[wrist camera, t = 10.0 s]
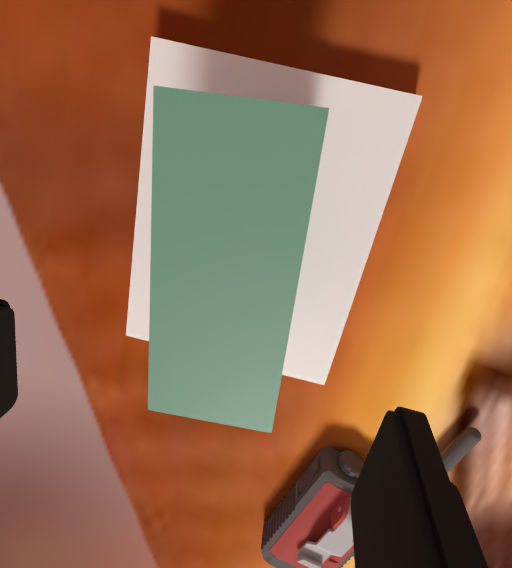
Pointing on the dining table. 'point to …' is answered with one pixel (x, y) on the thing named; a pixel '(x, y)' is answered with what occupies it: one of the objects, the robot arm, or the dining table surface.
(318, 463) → the walkie-talkie
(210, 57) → the standoff plate
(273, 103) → the green boxy piece
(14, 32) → the dining table surface
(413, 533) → the robot arm
